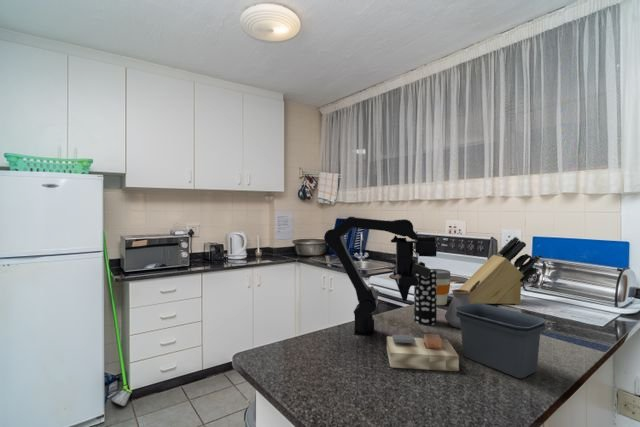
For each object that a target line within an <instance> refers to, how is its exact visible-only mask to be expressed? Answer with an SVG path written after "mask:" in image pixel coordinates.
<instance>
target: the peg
mask: <svg viewBox="0 0 640 427" xmlns="http://www.w3.org/2000/svg"><path fill="white" fill-rule="evenodd" d="M423 335H424V337H423V338H424V344H425V346H426V348H427V349H441V350H442V339H443V338H441V337H440V335H439V334H438V333H437V334H435V333H424V334H423Z"/></svg>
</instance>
